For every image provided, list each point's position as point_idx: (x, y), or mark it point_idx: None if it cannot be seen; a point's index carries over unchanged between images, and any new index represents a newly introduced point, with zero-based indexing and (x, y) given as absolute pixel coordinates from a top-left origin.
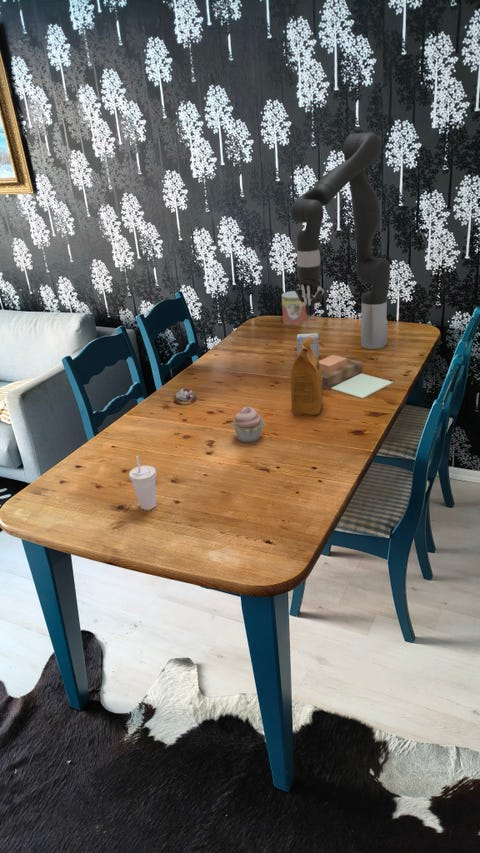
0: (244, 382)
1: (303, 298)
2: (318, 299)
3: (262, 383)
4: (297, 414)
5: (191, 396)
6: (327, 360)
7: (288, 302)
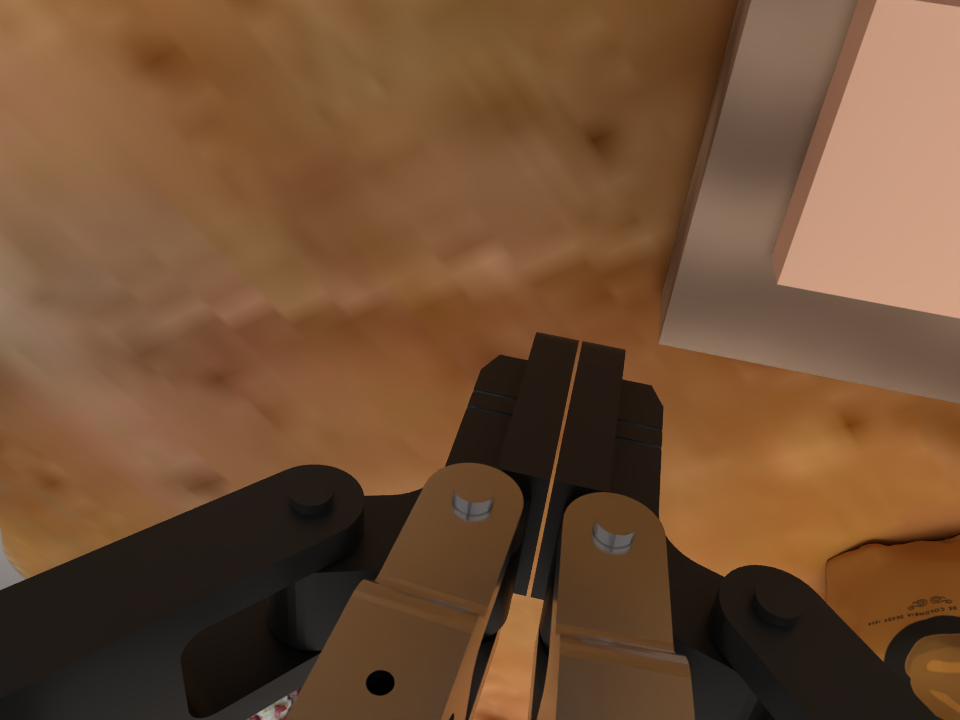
0: (321, 440)
1: (323, 646)
2: (822, 694)
3: (431, 416)
4: None
5: (288, 706)
6: (880, 192)
7: None
